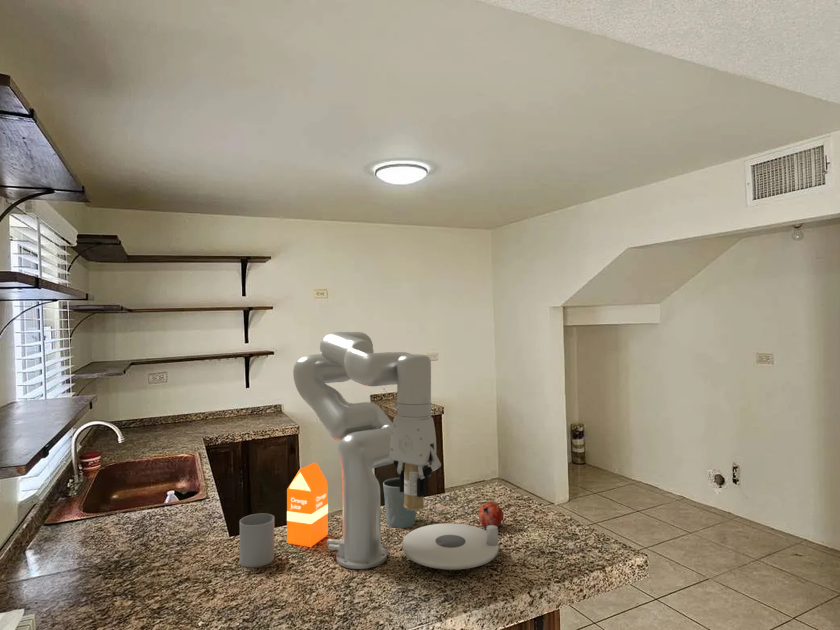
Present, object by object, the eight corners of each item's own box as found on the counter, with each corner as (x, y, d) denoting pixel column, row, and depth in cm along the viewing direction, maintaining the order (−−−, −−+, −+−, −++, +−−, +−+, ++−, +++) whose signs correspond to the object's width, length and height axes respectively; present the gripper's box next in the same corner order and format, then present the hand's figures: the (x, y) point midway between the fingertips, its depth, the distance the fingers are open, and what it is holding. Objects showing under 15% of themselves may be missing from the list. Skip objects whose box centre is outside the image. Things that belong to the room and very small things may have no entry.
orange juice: (286, 543, 138) (286, 468, 139) (304, 531, 146) (304, 460, 147) (311, 547, 135) (311, 471, 136) (328, 534, 144) (328, 462, 144)
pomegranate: (486, 528, 153) (466, 514, 148) (498, 506, 155) (479, 491, 150) (503, 539, 147) (483, 525, 142) (516, 516, 149) (496, 501, 144)
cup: (280, 559, 128) (280, 519, 129) (250, 570, 122) (250, 528, 123) (263, 549, 134) (263, 511, 135) (233, 560, 128) (233, 519, 129)
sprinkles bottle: (402, 504, 115) (403, 444, 115) (423, 503, 116) (423, 444, 116) (404, 511, 111) (404, 449, 111) (425, 511, 111) (425, 448, 111)
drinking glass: (416, 529, 147) (416, 487, 148) (381, 529, 147) (381, 487, 148) (417, 516, 157) (417, 477, 158) (384, 516, 157) (384, 477, 158)
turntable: (394, 574, 119) (394, 542, 119) (411, 534, 143) (411, 507, 143) (498, 581, 115) (498, 547, 116) (498, 538, 139) (498, 510, 139)
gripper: (374, 408, 116) (374, 489, 115) (434, 417, 105) (433, 506, 105) (396, 404, 122) (396, 481, 121) (454, 412, 111) (454, 496, 111)
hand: (413, 492), depth 113 cm, fingers closed on sprinkles bottle, 4 cm apart
